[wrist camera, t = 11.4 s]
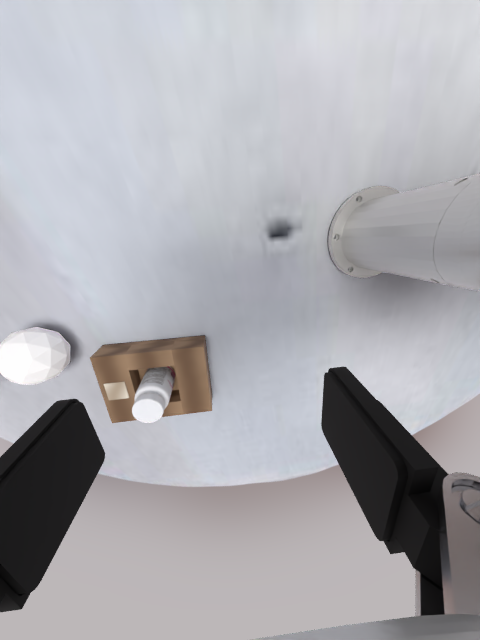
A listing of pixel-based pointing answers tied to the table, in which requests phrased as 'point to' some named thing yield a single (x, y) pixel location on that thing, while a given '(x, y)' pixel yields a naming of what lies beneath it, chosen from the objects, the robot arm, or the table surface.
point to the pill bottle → (153, 394)
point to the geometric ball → (33, 356)
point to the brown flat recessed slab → (136, 357)
